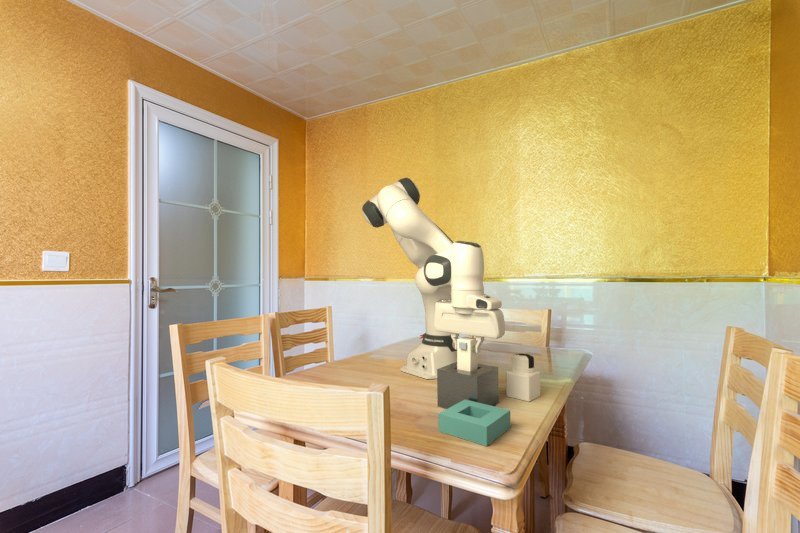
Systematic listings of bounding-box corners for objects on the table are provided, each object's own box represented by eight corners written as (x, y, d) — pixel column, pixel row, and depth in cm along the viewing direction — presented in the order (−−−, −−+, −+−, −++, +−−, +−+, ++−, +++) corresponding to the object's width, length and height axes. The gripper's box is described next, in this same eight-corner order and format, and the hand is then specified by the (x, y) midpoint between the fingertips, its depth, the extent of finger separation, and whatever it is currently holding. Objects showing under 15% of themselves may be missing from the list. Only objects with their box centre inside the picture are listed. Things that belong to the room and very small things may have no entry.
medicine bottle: (518, 390, 114) (517, 351, 114) (540, 396, 109) (540, 354, 109) (505, 396, 109) (505, 354, 109) (529, 402, 104) (528, 358, 104)
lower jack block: (438, 431, 86) (438, 413, 86) (465, 415, 95) (464, 399, 95) (486, 446, 78) (486, 427, 79) (510, 427, 88) (510, 410, 88)
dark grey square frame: (437, 406, 102) (437, 369, 102) (460, 394, 111) (459, 360, 111) (477, 416, 94) (477, 376, 94) (498, 403, 103) (498, 366, 104)
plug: (455, 372, 102) (455, 339, 102) (464, 368, 106) (464, 336, 106) (468, 375, 100) (468, 341, 100) (477, 371, 103) (477, 338, 103)
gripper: (429, 299, 107) (429, 347, 107) (497, 303, 94) (497, 358, 94) (441, 297, 112) (441, 344, 112) (507, 301, 99) (507, 354, 99)
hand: (467, 351), depth 103 cm, fingers closed on plug, 4 cm apart
